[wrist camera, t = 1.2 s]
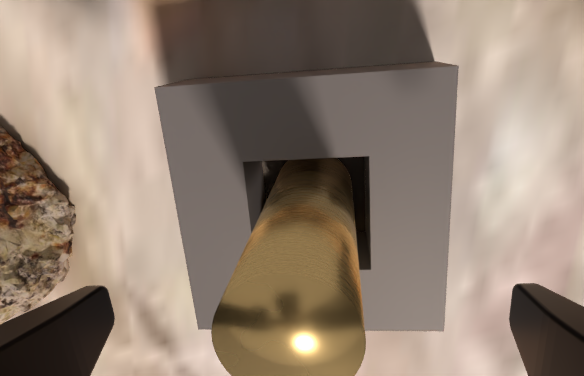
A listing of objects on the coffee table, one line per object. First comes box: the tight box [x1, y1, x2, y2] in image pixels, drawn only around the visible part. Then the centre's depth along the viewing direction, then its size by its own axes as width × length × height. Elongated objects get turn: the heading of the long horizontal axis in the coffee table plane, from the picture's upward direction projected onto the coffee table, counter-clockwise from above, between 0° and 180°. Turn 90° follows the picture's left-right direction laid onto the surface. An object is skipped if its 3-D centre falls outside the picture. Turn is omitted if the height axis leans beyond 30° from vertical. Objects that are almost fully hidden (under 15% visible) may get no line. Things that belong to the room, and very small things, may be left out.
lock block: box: [154, 61, 458, 331], centre depth 15 cm, size 9×9×3 cm
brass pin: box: [211, 158, 366, 376], centre depth 12 cm, size 3×3×9 cm
